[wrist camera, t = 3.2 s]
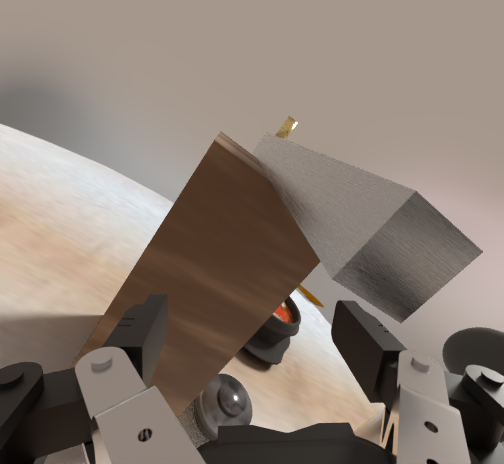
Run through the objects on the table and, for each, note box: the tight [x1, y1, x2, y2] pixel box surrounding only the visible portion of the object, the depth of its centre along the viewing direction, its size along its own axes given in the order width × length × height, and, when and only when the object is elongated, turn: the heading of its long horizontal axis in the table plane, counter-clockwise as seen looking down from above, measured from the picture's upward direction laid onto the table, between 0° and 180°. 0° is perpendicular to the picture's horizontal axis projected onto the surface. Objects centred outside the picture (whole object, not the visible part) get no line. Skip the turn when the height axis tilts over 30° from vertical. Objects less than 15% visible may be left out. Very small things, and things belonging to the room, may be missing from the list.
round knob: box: [194, 374, 252, 441], centre depth 37 cm, size 8×8×4 cm
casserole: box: [243, 296, 301, 365], centre depth 61 cm, size 25×19×8 cm
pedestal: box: [70, 132, 321, 418], centre depth 30 cm, size 13×13×32 cm
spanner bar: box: [252, 116, 483, 323], centre depth 21 cm, size 30×3×6 cm, turn 4°
